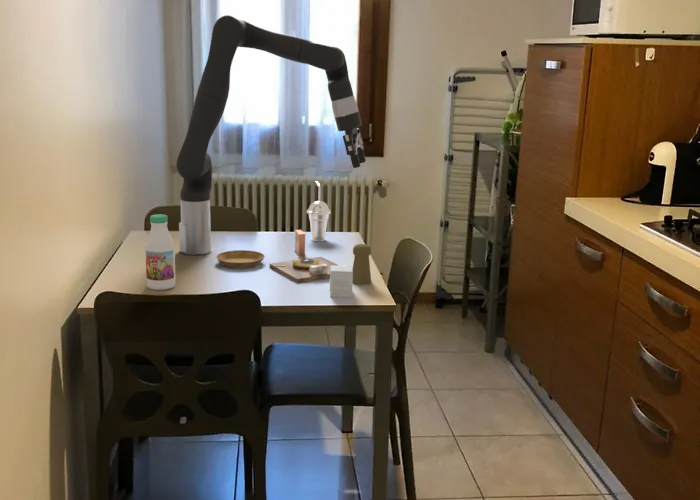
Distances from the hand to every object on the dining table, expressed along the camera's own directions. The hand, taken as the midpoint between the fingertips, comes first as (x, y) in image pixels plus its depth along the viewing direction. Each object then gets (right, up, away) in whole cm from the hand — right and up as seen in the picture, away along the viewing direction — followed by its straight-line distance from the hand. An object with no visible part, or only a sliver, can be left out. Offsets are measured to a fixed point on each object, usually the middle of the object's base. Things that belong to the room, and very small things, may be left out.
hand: (359, 165), depth 235 cm
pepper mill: (0, -35, -14) cm, 38 cm away
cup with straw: (-14, -23, +33) cm, 43 cm away
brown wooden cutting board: (-15, -32, -5) cm, 36 cm away
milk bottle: (-55, -36, -24) cm, 70 cm away
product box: (-5, -38, -25) cm, 46 cm away
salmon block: (-17, -30, -2) cm, 34 cm away
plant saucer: (-37, -31, +1) cm, 48 cm away
